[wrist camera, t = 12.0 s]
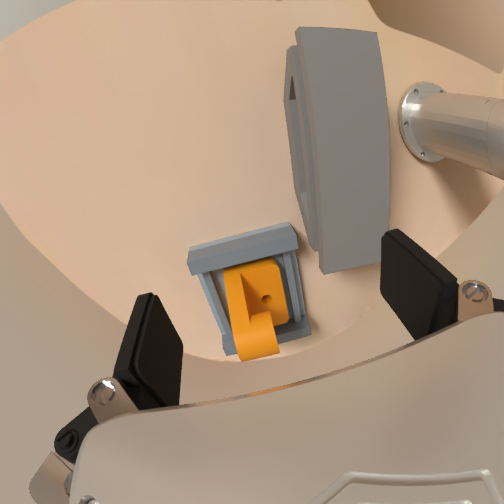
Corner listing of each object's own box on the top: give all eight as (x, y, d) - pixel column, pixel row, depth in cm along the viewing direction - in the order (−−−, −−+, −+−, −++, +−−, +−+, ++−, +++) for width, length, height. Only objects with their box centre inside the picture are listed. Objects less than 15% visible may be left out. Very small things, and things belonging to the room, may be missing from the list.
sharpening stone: (275, 51, 28) (299, 27, 18) (334, 50, 28) (376, 32, 18) (298, 233, 39) (323, 274, 30) (349, 224, 40) (385, 260, 30)
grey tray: (288, 221, 38) (296, 234, 35) (304, 318, 47) (311, 334, 43) (189, 247, 38) (186, 262, 35) (225, 338, 47) (226, 355, 43)
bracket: (286, 311, 44) (304, 368, 33) (241, 322, 44) (249, 382, 34) (274, 253, 39) (294, 307, 28) (223, 265, 39) (226, 324, 28)
